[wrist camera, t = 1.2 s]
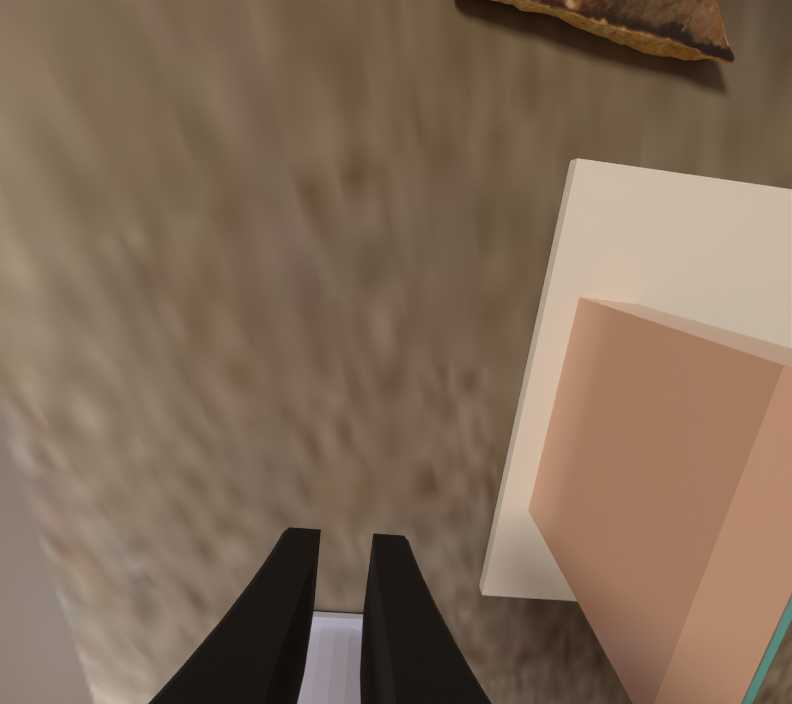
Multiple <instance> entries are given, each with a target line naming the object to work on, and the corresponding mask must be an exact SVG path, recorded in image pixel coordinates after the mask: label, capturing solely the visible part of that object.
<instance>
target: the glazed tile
mask: <svg viewBox="0 0 792 704" xmlns="http://www.w3.org/2000/svg"><path fill="white" fill-rule="evenodd" d="M528 511H529V513H530V515H531V516H532V518H533V520H534V522H535V524H536V526H537V528H538V529H539V531H540V533H541V535H542V537H543V539H544V540H545V542H546V544H547V546H548V548H549V550H550V552H551V553H552V555H553V557H554V559H555V561H556V563H557V565H558V566H559V568H560V570H561V572H562V574H563V576H564V578H565V579H566V581H567V583H568V585H569V587H570V589H571V590H572V592H573V594H574V596H575V598H576V600H577V602H578V603H579V605H580V607H581V609H582V611H583V613H584V615H585V616H586V618H587V620H588V622H589V624H590V626H591V627H592V629H593V631H594V633H595V635H596V637H597V639H598V640H599V642H600V644H601V646H602V648H603V650H604V652H605V653H606V655H607V657H608V659H609V661H610V663H611V665H612V666H613V668H614V670H615V672H616V674H617V676H618V677H619V679H620V681H621V683H622V685H623V687H624V689H625V690H626V692H627V694H628V696H629V698H630V700H631V702H632V703H633V704H752V702H753V700H754V698H755V696H756V694H757V692H758V690H759V687H760V685H761V683H762V681H763V679H764V677H765V675H766V672H767V670H768V668H769V666H770V664H771V662H772V660H773V658H774V655H775V653H776V651H777V649H778V647H779V645H780V643H781V640H782V638H783V636H784V634H785V632H786V630H787V628H788V626H789V623H790V621H791V619H792V348H788V347H785V346H781V345H778V344H775V343H771V342H768V341H764V340H761V339H757V338H754V337H750V336H747V335H743V334H740V333H736V332H733V331H729V330H726V329H722V328H719V327H715V326H712V325H708V324H705V323H701V322H698V321H694V320H691V319H687V318H684V317H680V316H677V315H673V314H670V313H666V312H663V311H659V310H656V309H652V308H649V307H645V306H642V305H638V304H633V303H625V302H617V301H608V300H600V299H591V298H583V297H579V300H578V304H577V308H576V312H575V316H574V321H573V325H572V329H571V333H570V337H569V342H568V346H567V350H566V354H565V358H564V363H563V367H562V371H561V375H560V379H559V383H558V388H557V392H556V396H555V400H554V404H553V409H552V413H551V417H550V421H549V425H548V430H547V434H546V438H545V442H544V446H543V451H542V455H541V459H540V463H539V467H538V472H537V476H536V480H535V484H534V488H533V492H532V497H531V501H530V505H529V509H528Z"/></svg>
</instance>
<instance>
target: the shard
mask: <svg viewBox="0 0 792 704" xmlns="http://www.w3.org/2000/svg"><path fill="white" fill-rule="evenodd" d="M491 1H498V2H502V3H505V4H510V5H514V6H515V7H516V8H518V9H519V10H521V11H525V12H539V13H545V14H549V15H551V16H555V17H558V18H559V19H561V20H563V21H565V22H567V23H569V24H571V25H572V26H574V27H576V28H579V29H582V30H586V31H588V32H590V33H593V34H595V35H597V36H602V37H605V38H608V39H609V40H611V41H613V42H615V43H618V44H623V45H627V46H629V47H631V48H632V49H636V50H639V51H640V52H642V53H648V54H652V55H657V56H661V57H666V56H670V57H675V58H679V59H681V60H701V59H710V60H713V61H717V62H722V63H732V62H733V60H734V54H733V53H732V51H731V49H730V46H729V44H728V41H727V39H726V37H725V31H724V26H723V22H722V20H721V16H720V10H719V6H718V5H717V1H716V0H491Z"/></svg>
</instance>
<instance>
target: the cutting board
mask: <svg viewBox="0 0 792 704" xmlns="http://www.w3.org/2000/svg"><path fill="white" fill-rule="evenodd" d="M579 297H583V298H591V299H600V300H608V301H617V302H625V303H633V304H638V305H642V306H645V307H649V308H652V309H656V310H659V311H663V312H666V313H670V314H673V315H677V316H680V317H684V318H687V319H691V320H694V321H698V322H701V323H705V324H708V325H712V326H715V327H719V328H722V329H726V330H729V331H733V332H736V333H740V334H743V335H747V336H750V337H754V338H757V339H761V340H764V341H768V342H771V343H775V344H778V345H781V346H785V347H788V348H792V189H785V188H778V187H771V186H764V185H757V184H750V183H744V182H737V181H730V180H723V179H716V178H709V177H702V176H695V175H688V174H681V173H675V172H668V171H661V170H654V169H647V168H640V167H633V166H626V165H619V164H612V163H606V162H599V161H592V160H585V159H578V158H577V159H574V160H571V161H570V164H569V169H568V174H567V178H566V183H565V188H564V192H563V197H562V202H561V206H560V211H559V216H558V220H557V225H556V230H555V234H554V239H553V244H552V248H551V253H550V258H549V262H548V267H547V272H546V276H545V281H544V286H543V290H542V295H541V300H540V304H539V309H538V314H537V318H536V323H535V328H534V332H533V337H532V342H531V346H530V351H529V356H528V360H527V365H526V370H525V374H524V379H523V384H522V388H521V393H520V397H519V402H518V407H517V411H516V416H515V421H514V425H513V430H512V435H511V439H510V444H509V449H508V453H507V458H506V463H505V467H504V472H503V477H502V481H501V486H500V491H499V495H498V500H497V505H496V509H495V514H494V519H493V523H492V528H491V533H490V537H489V542H488V547H487V551H486V556H485V561H484V565H483V570H482V575H481V579H480V584H479V587H480V590H481V593H482V595H487V596H503V597H518V598H534V599H550V600H565V601H577V600H576V598H575V596H574V594H573V592H572V590H571V589H570V587H569V585H568V583H567V581H566V579H565V578H564V576H563V574H562V572H561V570H560V568H559V566H558V565H557V563H556V561H555V559H554V557H553V555H552V553H551V552H550V550H549V548H548V546H547V544H546V542H545V540H544V539H543V537H542V535H541V533H540V531H539V529H538V528H537V526H536V524H535V522H534V520H533V518H532V516H531V515H530V513H529V511H528V509H529V505H530V501H531V497H532V492H533V488H534V484H535V480H536V476H537V472H538V467H539V463H540V459H541V455H542V451H543V446H544V442H545V438H546V434H547V430H548V425H549V421H550V417H551V413H552V409H553V404H554V400H555V396H556V392H557V388H558V383H559V379H560V375H561V371H562V367H563V363H564V358H565V354H566V350H567V346H568V342H569V337H570V333H571V329H572V325H573V321H574V316H575V312H576V308H577V304H578V300H579Z"/></svg>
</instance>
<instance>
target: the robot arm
mask: <svg viewBox="0 0 792 704" xmlns="http://www.w3.org/2000/svg"><path fill="white" fill-rule="evenodd" d="M320 533H321V530H318V529H304V528H291V527H289V528H288V529H287V530H285V531H284V532H283V533H282V535H281V537H280V539H279V541H278V542H277V544H276V545H275V547H274V549H273V550H272V552H271V553H270V555H269V556H268V558H267V559H266V561H265V562H264V564H263V565H262V567H261V568H260V569H259V571H258V572H257V574H256V575H255V576H254V578H253V579H252V581H251V582H250V583H249V585H248V586H247V587H246V589H245V590H244V591H243V593H242V594H241V595H240V597H239V598H238V599H237V600H236V602H235V603H234V604H233V606H232V607H231V608H230V610H229V611H228V612H227V614H226V615H225V616H224V617H223V619H222V620H221V621H220V622H219V624H218V625H217V626H216V627H215V628H214V630H213V631H212V632H211V633H210V634H209V635H208V637H207V638H206V639H205V640H204V641H203V643H202V644H201V645H200V646H199V647H198V648H197V650H196V651H195V652H194V653H193V654H192V655H191V657H190V658H189V659H188V660H187V661H186V663H185V664H184V665H183V666H182V667H181V668H180V670H179V671H178V672H177V673H176V674H175V675H174V676H173V677H172V678H171V680H170V681H169V682H168V683H167V684H166V685H165V686H164V687H163V688H162V689H161V691H160V692H159V693H158V694H157V695H156V696H155V697H154V698H153V699H152V700H151V701H150V702H149V704H491V702H490V701H489V699H488V697H487V696H486V694H485V692H484V691H483V689H482V688H481V686H480V684H479V682H478V681H477V679H476V677H475V676H474V674H473V672H472V671H471V669H470V667H469V666H468V664H467V662H466V661H465V659H464V657H463V655H462V653H461V652H460V650H459V648H458V646H457V644H456V643H455V641H454V639H453V637H452V635H451V633H450V631H449V629H448V627H447V626H446V624H445V622H444V620H443V618H442V616H441V614H440V612H439V610H438V608H437V606H436V604H435V602H434V600H433V598H432V596H431V594H430V592H429V590H428V587H427V585H426V583H425V581H424V579H423V577H422V574H421V572H420V570H419V567H418V565H417V563H416V560H415V558H414V555H413V552H412V550H411V547H410V544H409V541H408V540H407V539H406V538H405V536H400V535H386V534H373V541H372V549H371V556H370V564H369V572H368V580H367V588H366V596H365V603H364V611H363V614H350V613H333V612H316V611H314V601H315V589H316V578H317V567H318V555H319V544H320Z"/></svg>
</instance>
